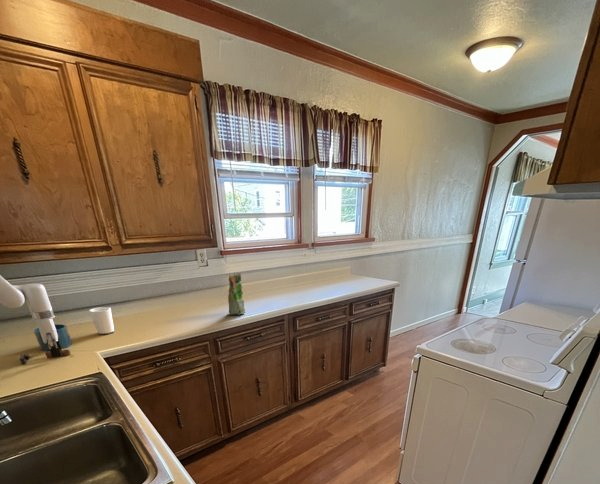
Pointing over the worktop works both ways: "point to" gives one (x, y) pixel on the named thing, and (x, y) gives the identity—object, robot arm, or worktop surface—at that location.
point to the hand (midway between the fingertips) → (57, 353)
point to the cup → (102, 320)
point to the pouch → (235, 295)
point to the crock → (62, 337)
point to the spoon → (63, 353)
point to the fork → (24, 358)
